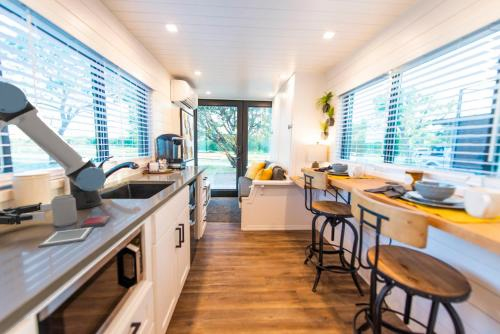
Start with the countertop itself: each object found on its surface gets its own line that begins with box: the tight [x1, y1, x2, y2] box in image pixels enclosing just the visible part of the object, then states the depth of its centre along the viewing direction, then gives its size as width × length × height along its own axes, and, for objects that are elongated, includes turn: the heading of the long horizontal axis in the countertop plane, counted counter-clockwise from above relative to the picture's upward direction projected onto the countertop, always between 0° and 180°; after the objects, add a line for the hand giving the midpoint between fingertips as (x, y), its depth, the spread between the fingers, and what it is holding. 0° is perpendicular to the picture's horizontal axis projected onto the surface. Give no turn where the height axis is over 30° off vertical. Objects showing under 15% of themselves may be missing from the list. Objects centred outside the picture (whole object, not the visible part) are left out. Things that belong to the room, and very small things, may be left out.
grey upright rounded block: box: [50, 194, 78, 228], centre depth 88 cm, size 8×8×12 cm
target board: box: [38, 227, 95, 248], centre depth 77 cm, size 12×12×1 cm
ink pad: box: [79, 215, 110, 229], centre depth 90 cm, size 9×8×2 cm
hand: (53, 210), depth 87 cm, fingers open, 13 cm apart
